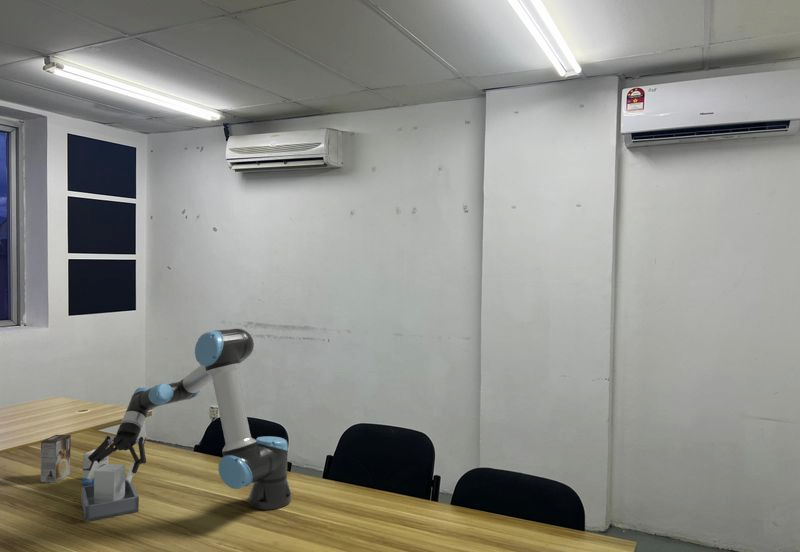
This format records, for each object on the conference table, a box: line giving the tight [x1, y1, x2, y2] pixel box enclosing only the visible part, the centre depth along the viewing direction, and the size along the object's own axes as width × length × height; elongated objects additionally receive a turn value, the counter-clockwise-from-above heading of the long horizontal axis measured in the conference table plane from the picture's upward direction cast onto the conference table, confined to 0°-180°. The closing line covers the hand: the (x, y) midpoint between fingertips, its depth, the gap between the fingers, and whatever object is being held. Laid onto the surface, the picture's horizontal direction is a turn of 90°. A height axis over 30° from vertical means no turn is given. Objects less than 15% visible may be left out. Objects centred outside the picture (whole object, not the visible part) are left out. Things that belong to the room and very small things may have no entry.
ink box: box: [82, 448, 109, 486], centre depth 217 cm, size 9×5×12 cm, turn 168°
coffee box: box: [40, 434, 72, 483], centre depth 219 cm, size 9×6×16 cm
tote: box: [80, 480, 140, 523], centre depth 195 cm, size 20×16×5 cm
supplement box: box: [94, 463, 126, 504], centre depth 195 cm, size 7×7×13 cm
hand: (108, 480), depth 195 cm, fingers open, 13 cm apart
